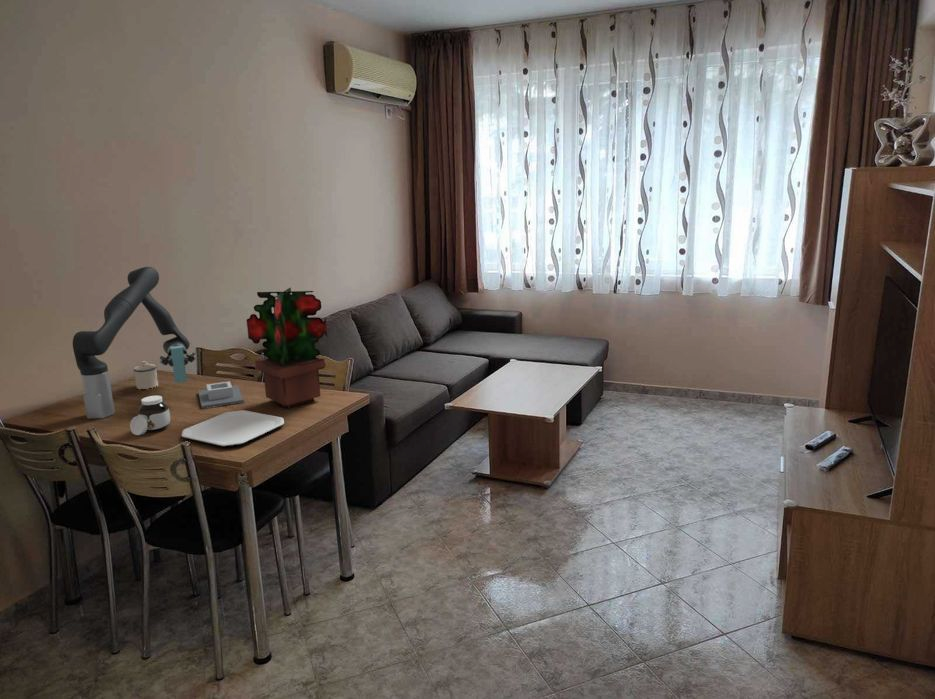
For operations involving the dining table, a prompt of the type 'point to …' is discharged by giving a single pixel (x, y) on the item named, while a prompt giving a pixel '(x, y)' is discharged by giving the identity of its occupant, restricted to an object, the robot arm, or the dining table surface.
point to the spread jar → (151, 416)
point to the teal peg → (178, 364)
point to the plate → (233, 428)
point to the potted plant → (289, 345)
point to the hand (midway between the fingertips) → (178, 363)
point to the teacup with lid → (145, 375)
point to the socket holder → (220, 395)
